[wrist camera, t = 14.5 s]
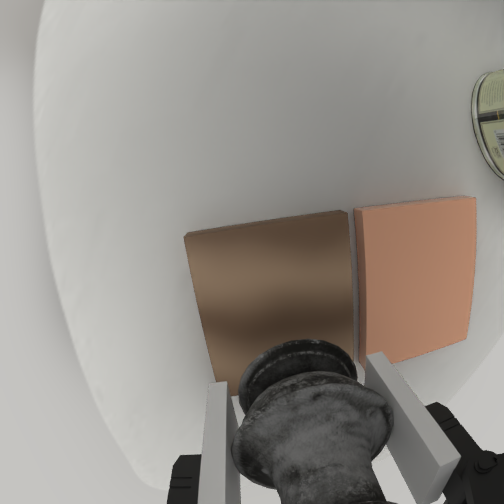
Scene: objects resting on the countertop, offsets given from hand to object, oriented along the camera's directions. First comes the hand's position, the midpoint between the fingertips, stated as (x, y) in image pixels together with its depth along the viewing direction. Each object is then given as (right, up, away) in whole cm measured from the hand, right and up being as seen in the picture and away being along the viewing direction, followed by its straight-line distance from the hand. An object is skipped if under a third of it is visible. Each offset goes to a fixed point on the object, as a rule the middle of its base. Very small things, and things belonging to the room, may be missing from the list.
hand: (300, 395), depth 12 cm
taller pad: (+10, +4, +9) cm, 15 cm away
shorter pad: (0, +2, +9) cm, 9 cm away
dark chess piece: (0, 0, +1) cm, 1 cm away
